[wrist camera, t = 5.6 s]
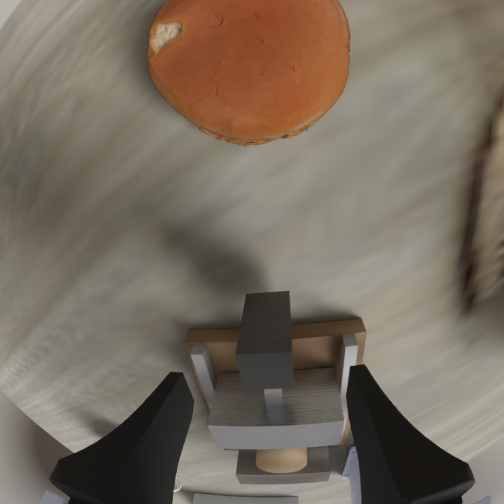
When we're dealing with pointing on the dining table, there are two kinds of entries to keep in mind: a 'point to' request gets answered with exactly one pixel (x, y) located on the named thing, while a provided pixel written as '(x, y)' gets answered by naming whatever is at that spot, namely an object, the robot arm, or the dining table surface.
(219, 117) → the burger
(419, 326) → the dining table surface
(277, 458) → the nut
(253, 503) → the box
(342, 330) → the bench
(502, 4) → the dining table surface
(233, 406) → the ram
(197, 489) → the dining table surface
